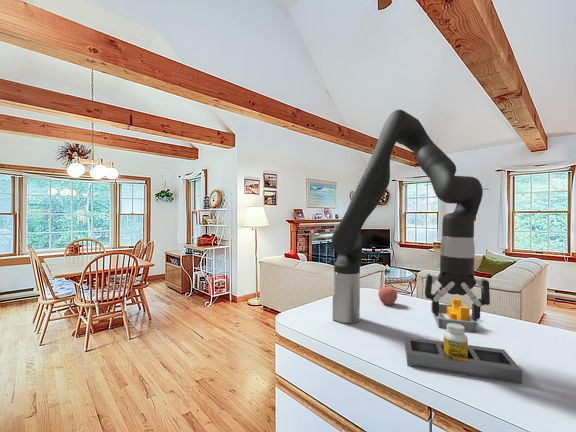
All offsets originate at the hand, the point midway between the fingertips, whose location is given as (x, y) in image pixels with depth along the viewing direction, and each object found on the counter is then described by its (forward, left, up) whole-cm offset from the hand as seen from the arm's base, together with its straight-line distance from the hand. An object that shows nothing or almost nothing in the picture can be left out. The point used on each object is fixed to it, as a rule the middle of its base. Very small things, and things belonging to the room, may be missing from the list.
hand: (455, 317), depth 75 cm
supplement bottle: (0, 0, -12) cm, 12 cm away
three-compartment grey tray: (0, 0, -12) cm, 12 cm away
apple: (-17, +47, -12) cm, 51 cm away
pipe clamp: (+8, +36, -12) cm, 38 cm away
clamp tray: (+5, +35, -12) cm, 37 cm away
